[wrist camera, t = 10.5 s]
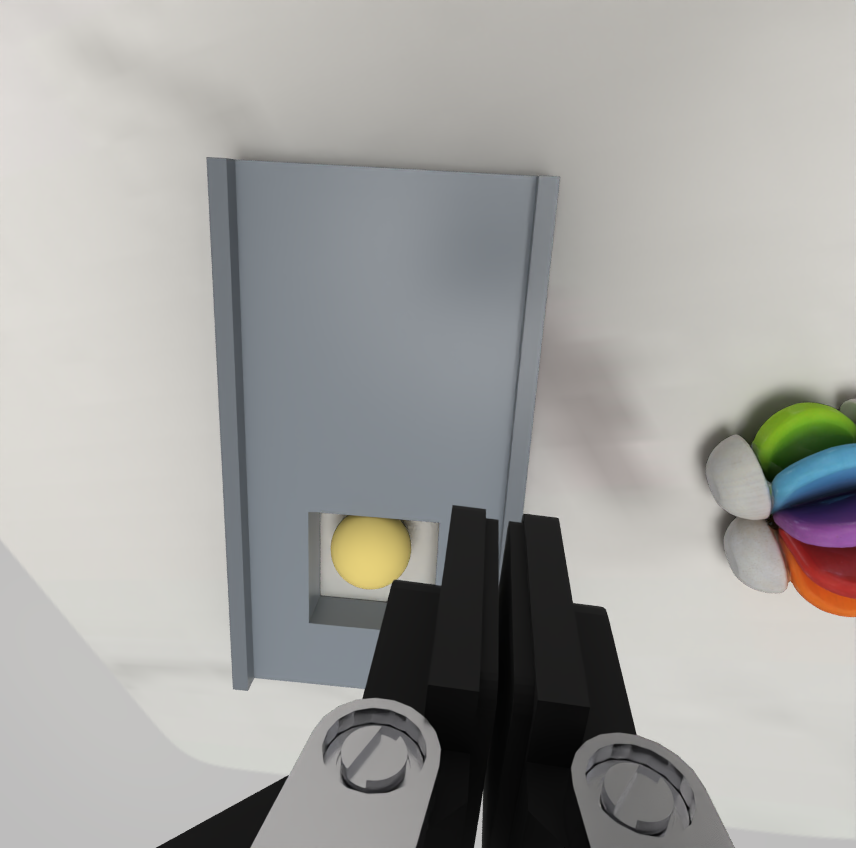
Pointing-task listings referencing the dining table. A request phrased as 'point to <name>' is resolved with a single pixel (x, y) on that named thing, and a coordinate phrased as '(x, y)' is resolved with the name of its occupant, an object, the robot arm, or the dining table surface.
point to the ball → (370, 550)
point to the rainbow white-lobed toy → (793, 504)
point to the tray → (365, 379)
